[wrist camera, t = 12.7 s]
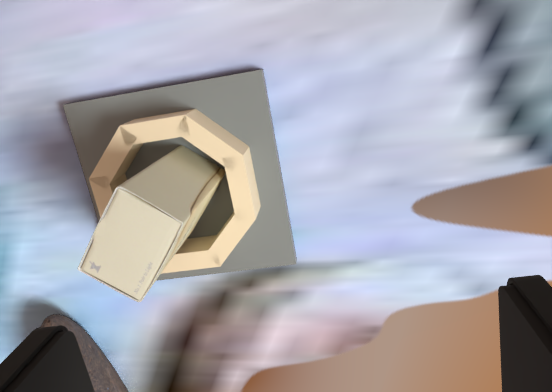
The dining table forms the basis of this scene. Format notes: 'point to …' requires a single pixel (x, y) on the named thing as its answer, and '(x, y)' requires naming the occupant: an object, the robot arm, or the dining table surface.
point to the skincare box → (150, 221)
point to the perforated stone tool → (90, 356)
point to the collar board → (207, 143)
